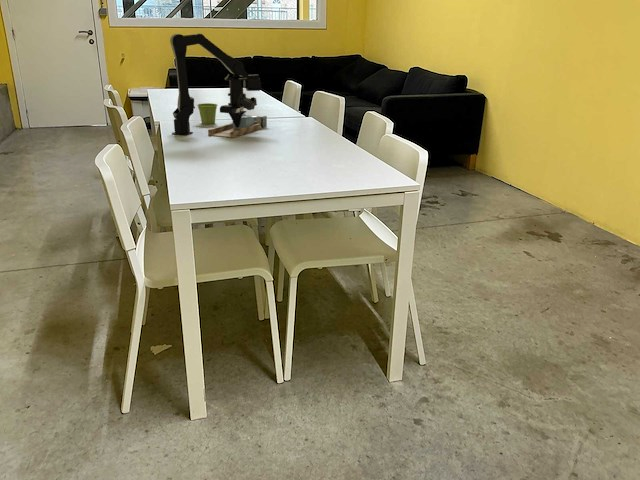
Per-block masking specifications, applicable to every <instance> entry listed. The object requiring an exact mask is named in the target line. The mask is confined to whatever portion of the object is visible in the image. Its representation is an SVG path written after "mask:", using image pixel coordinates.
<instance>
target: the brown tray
mask: <svg viewBox="0 0 640 480" xmlns="http://www.w3.org/2000/svg"><path fill="white" fill-rule="evenodd" d="M261 129H262V128H261V124H258V122H256V121H254V125H252V126H248V127H245V128H242V129H234V128H233V122H230V123H227V124H223V125H220V126H216V127H212V128H209V129H207V134H208V136H211V137H218V138H228V139H234V138H238V137H241V136H243V135H247V134H249V133H253V132H257V131H259V130H261Z"/></svg>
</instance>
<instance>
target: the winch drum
mask: <svg viewBox="0 0 640 480" xmlns="http://www.w3.org/2000/svg"><path fill="white" fill-rule="evenodd" d="M243 116H248V117H250V116H251V115H247V114H246V113H244V114H243ZM252 116H253V117H254V121H256V122H258V124H261V129H265V128H267V127H268V126H267V124H268V123H267V121H268V119H267V118H268V117H267V115H263V116H259V115H257V116H256V115H252Z"/></svg>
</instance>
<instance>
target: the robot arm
mask: <svg viewBox="0 0 640 480" xmlns="http://www.w3.org/2000/svg"><path fill="white" fill-rule="evenodd" d="M169 41H170V42H169V43H170V46H171V51H172V53H173V55H174V60H175V69H176V78H177V85H178V88H177V89H178V97H177V108H176V109H175V110H174V111H173V112H172V115H173V118H174V119H173V126H174V127H173V129H174V132H171V135H176V136H177V135H178V136H187V135H191V134H193V133H194V132H193V131H191V127H190V125H191V124H190V123H191V122H190V116H191V115H193V114H194V109H196V107H195V98H194V97H193V96H190V93H189V92H190V91H189V81H188V72H187V63H186V56H187V51H188V47H190V46H196V45H199V46H200V47H201V48H202V49H204V50H206V51H207V52H208V53H210V54H211V55H212V56H214V57H215V58H216V59H217V60H219V61H220V62H221V64H222V65H223V66H224V67H225V69H226V70H228V72H229V73H231V74H233V75H231V74H229V73H227V76H226V77H224V80H225V81H229V93H227V96H228V97H229V103H228V104H224V105H221V106H219V113H221V114H222V113H223V114H228V115H229V116H230V118H231V120H232V123H233V122H234V124H235V126H236V128H239V124H240V121H241V118H242V115H243V114H246V113H247V111H251V110H254V109H255V106H257V105H258V104H257V98H256V97H255V96H253V97H249V98H248V97H247V94H246V93H244V89H246V91H247V92H260V91H261V89H262V82H261V79H260V75H259V74H248V73H247V71H246V70H245V65H244V63H243V62H242V61H240V60H238V59H236V58H234V57H232V56H231V55H229V54H228V53H226V52H225V51H223V50H222V49H221V48H219V47H218V46H217V45H216V44H214V43H213V42H212V41H210V40H209V38H207V37H206V36H205V35H204V34H202V33H199V32H198V33H194V34H186V35H183V34H181V33H174V34H172V35H171V36H170V39H169ZM240 77H242V78H240ZM244 109H246V110H244Z"/></svg>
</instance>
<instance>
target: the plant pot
mask: <svg viewBox="0 0 640 480" xmlns="http://www.w3.org/2000/svg"><path fill="white" fill-rule="evenodd" d="M196 106H197V108H198V111H199V116H200V121H201V124H203V125H210V124H211V125H214V124H215V123H216V114H217V109H218V104H217V103H212V102H211V103H207V102H203V103H198V104H196Z"/></svg>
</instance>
